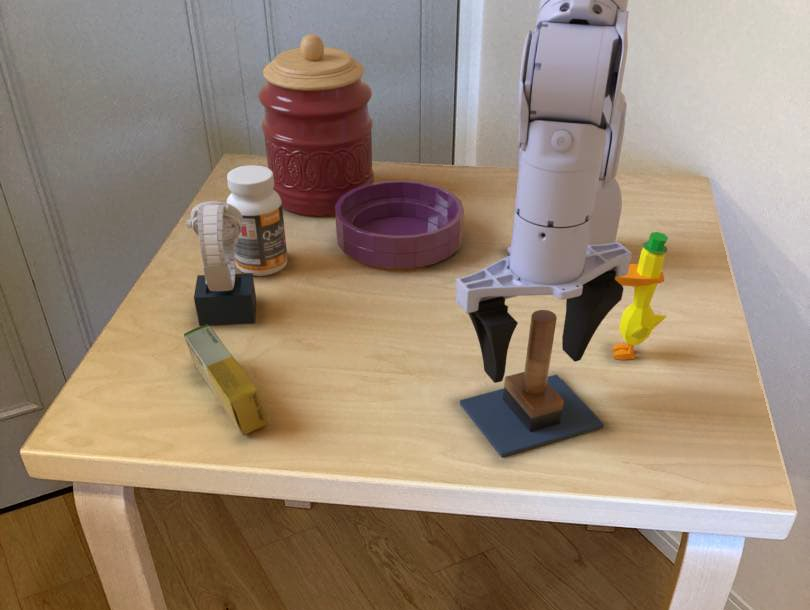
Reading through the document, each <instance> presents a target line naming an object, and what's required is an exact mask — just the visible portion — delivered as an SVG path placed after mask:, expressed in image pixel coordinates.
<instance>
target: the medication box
mask: <svg viewBox="0 0 810 610" xmlns="http://www.w3.org/2000/svg"><path fill="white" fill-rule="evenodd" d="M183 337H184V340H185V343H186V345H187V347H188V351H189V353H190V355H191V358H192V360H193V364H194V366H195V369H197V371H198V372H199V373H200V375H201V376H202V378H203V379H204V381H205V382H206V384H207V386H208V387H209V389H210V390H211V391H212V393H213V394H214V395H215V397H216V398H217V400H218V401H219V403H220V405H221V406H222V408H223V409H224V410H225V412H226V414H227V415H228V416H229V418H230V420H231V421H232V422H233V423H234V425H235V427H236V428H237V429H238V431H239V432H240V434H241V435H242V436H245V435H247V434H249V433H251V432H254V431H257V430H258V429H260V428H262V427H264V426H266V425H268V424H269V422H268V419H267V416H266V412H265V409H264V405H263V402H262V399H261V396H260V393H259V390H258V388H257V387H256V386H255V384H254V383H253V382H252V380H251V379H250V377H249V376H248V375H247V374H246V372H245V371H244V370H243V368H242V367H241V365H240V364H239V363H238V362H237V360H236V359H235V357H234V356H233V355H232V354H231V352H230V351H229V350H228V348H227V347H226V345H225V344H224V343H223V342H222V340H221V338H220V337H219V336H218V335H217V333H216V332H215V331H214V329H213V328H212V326H211V325H208V324H206V325H204V326H197V327H196V328H193V329H191V330H189V331H187V332H185V333H183Z"/></svg>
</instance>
